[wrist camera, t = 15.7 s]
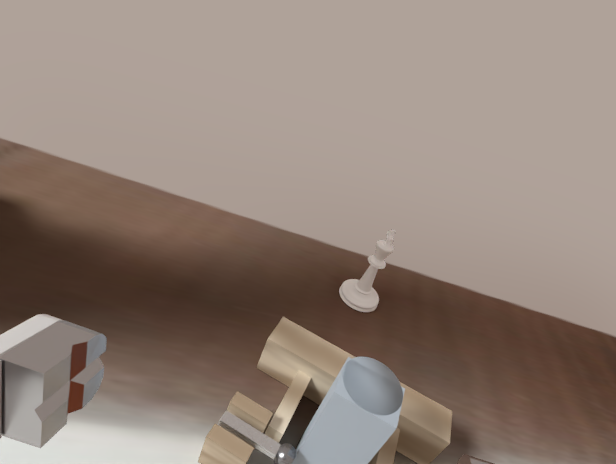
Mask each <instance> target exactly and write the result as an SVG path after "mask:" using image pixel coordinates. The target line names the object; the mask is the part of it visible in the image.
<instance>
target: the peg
mask: <svg viewBox="0 0 616 464" xmlns="http://www.w3.org/2000/svg"><path fill="white" fill-rule="evenodd" d="M404 392H405V388H403V387H401V385H400V382H399V380H398V379H397V377H396V376H395V374H394V373H393V372H392V371H391V370H390V369H389V368H388V367H387V366H386V365H384V364H383V363H381V362H379V361H377V360H375V359H373V358H369V357H356V358H353V359H352V358H350V357H348V358H347V360H346V362H345V363H344V365H343V367H342V368H341V370H340V372H339V374H338V375H337V377H336V379H335V380H334V382H333V384H332V386H331V387H330V389H329V391H328V392H327V394H326V396H325V398H324V399H323V401H322V403H321V404H320V406H319V408H318V410H317V411H316V413H315V415H314V416H313V418H312V420H311V422H310V423H309V425H308V427H307V428H306V430H305V432H304V433H303V435H302V437H301V439H300V442H299V444H298V446H297V448H296V458H295V459H294V461H293V463H292V464H368V463H369V462H370V461H371V459H372V458H373V457H374V456H375V454H376V453H377V452H378V451H379V450H380V448H381V447H382V446H383V445H384V443H385V442H386V441H387V440H388V439H389V437H390V436H391V435H392V434H393V433H394V431H395V430H396V429H397V425H398V420H399V416H400V411H401V406H402V401H403V397H404Z"/></svg>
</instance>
